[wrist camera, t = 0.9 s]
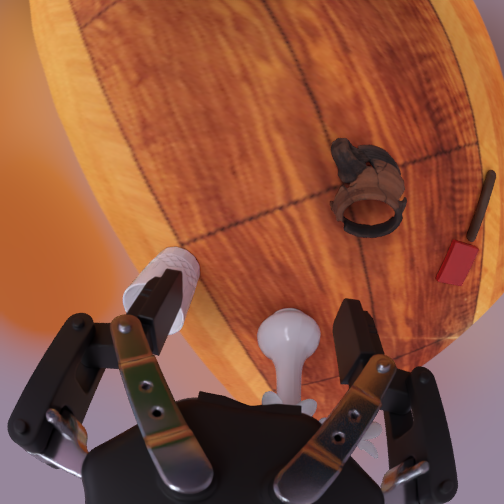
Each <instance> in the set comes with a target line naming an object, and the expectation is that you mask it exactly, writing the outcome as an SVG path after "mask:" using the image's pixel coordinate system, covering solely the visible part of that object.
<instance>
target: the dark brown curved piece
mask: <svg viewBox="0 0 504 504" xmlns="http://www.w3.org/2000/svg"><path fill="white" fill-rule="evenodd" d="M331 153H332V157H333V159H334V161H335V163H336V165H337V167H338V176H339V177H340V179H341V180H342V181H343V182H344V183H350V182H351V184H350V186H349V187H348V188H346V187H345V186H341V187H340V189H339V191H338V193H337V195H336V196H335V200H334V202H333V201H330V206H331V210H332V211H333V212H334V214H335V215H336V220H337V221H342V222H343V223H344V231H346V232H348V233H349V234H352V235H354V236H358V237H363V238H368V237H369V238H376V237H382V236H385V235H387V234H390V233H391V232H393V231H394V230H395V229H396V228H397V227H398V226H399V225H400V223H401V221H402V219H403V217H402V213H403V211H404V209H405V206H406V203H407V199H406V197H404V199H403V200H402V201H399V198H400V197H401V195H402V194H403V192H404V190H405V187H404V180H403V179H402V177H401V176H400V175H401V173H400V169H399V167H398V165H397V163H396V162H395V161H394V159H393V158H392V157H391V156H390V155H389V154H388V152H386V151H385V150H383V149H382V148H380V147H377V146H373V145H360V146H358V148H355V147H354V146H352V144H351V143H350V142H349V140H348V139H347V138H338V139H336V140H335V141H333V142H332V146H331ZM368 161H369V162H370V164H371V165H372V166H373V168H372V167H370V166H366V163H367V162H368ZM367 199H372V200H379V201H382V202H385V203H387V204H388V205H390V206H391V207H392V208H393V209H394V211H395V216H394V217H391V218H390V219H389V220H388V221H386V222H384V223H381V224H376V225H372V226H370V225H366V224H357V223H354V222H352V221H350V220H348V219H347V218H345V217H344V216H343V213H344V211H345V209H346V208H347V207H348V206H349V205H351V204H352V203H354V202H355V201H360V200H367Z"/></svg>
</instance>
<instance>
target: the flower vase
mask: <svg viewBox="0 0 504 504" xmlns="http://www.w3.org/2000/svg"><path fill="white" fill-rule="evenodd" d="M320 335H321V333H320V329H319V326H318V324H317V323H316V322H315V320H314V319H312V318H311V317H310V316H308V315H307V314H305V313H303V312H302V311H300V310H298V309H294V308H284V309H280V310H278V311H276V312H275V313H274V314H273V315H271V316H269V317H268V318H267V319H265V320H264V321H263V322H262V324H261V325H260V327H259V329H258V333H257V340H258V345H259V347H260V349H261V351H262V352H263V353H264V354H265V355H266V356H267V357H268V358H269V359H271V360H272V361H273V363H274V365H275V369H276V376H277V394H275V393H274V392H272V391H268V392H265V394H264V395H263V397H262V405H268V404H287V405H300V406H302V413H305V414H307V415H309V416H311V417H312V416H313V414H314V413H315V410H316V408H317V403H316V401H315V400H313V399H307V400H303V401H301V374H302V368H303V364H304V362H305V360H306V359H307V358H309V357H310V356H311V355H312V354H313V353H314V352H315V351H316V349H317V347H318V345H319V342H320ZM325 419H326V418H321V419H320V421H319V422H320V423H323V422H324V421H325ZM381 432H382V427H381V425H380V424H379V423H377V422H372V423H371V425H370V427H369V428H368V430H367V431H366V433H365V435H364V436H363V438H362V439H361V441H360V442H359V444H358V445H357V446H358V448H359V449H360V450H362V449H364V450H365V451H366V452H367V453H369V454H370V455H371V456H373V457H374V458H378V454H377V450H376V448H375V447H374V445H373V444H372V443H371V442H369V441H365V440H368V439H372V438H376V437H378V436H379V435H380V434H381Z"/></svg>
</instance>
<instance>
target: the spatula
mask: <svg viewBox="0 0 504 504" xmlns="http://www.w3.org/2000/svg"><path fill="white" fill-rule="evenodd" d="M495 179H496V173H495V172H494V171H493V170H489V171H488V172H487V176H486V179H485V183H484V186H483V190H482V193H481V197H480V200H479V203H478V206H477V209H476V212H475V215H474V217H473V220H472V223H471V226H470V228H469V231H468V233H467V239H468V241H470V242H473V241H474V240H475V239H476V236H477V234H478V231H479V228H480V226H481V223H482V220H483V218H484V215H485V212H486V209H487V206H488V203H489V200H490V196H491V193H492V190H493V186H494V183H495ZM478 251H479V249H478V248H477V247H476V246H473V245H470V244H467V243H463V242H460V241H457V240H454V239H453V241H452V243H451V245H450V248H449V250H448V252H447V255H446V257H445V259H444V261H443V264H442V266H441V268H440V270H439V272H438V274H437V276H436V280H437V281H438V282H442V283H447V284H453V285H458V286H462V284H463V282H464V280H465V278H466V276H467V274H468V272H469V270H470V268H471V266H472V264H473V262H474V260H475V258H476V255H477V253H478Z"/></svg>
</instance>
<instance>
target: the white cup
mask: <svg viewBox="0 0 504 504" xmlns="http://www.w3.org/2000/svg"><path fill="white" fill-rule="evenodd" d="M167 268H168V269H173V270H179V271H182V276H183V299H182V304H181V308H180V310H179V312H178V314H177V316H176V319H175V321H174V323H173V325H172V327H171V330H170V332H169V334H168V335H171V334H175V333H176V332H178V331H179V330H180V329H181V328H182V326H183V324H184V321H185V318H186V315H187V312H188V309H189V307H190V304H191V301H192V298H193V295H194V292H195V289H196V284H197V281H198V279H199V276H200V266H199V264H198V262H197V260H196V258H195V257H194V256H193V255H192V254H191V253H190V252H188V251H187V250H185V249H182V248H179V247H168V248H166V249H164V250H163V251H161V252H160V253H159V254H158V255H157V256H156V257H155V258H154V259H153V260H152V261H151V262H150V263H149V264H148V265H147V266H146V267H145V268H144V269H143V270H142V272H141V273H140V274H139V275H138V276H137V277H136V279H135V280H134V281H133V282H132V283H131V284H130V286H129V287H128V288H127V289H126V290H125V292H124V295H123V305H124V308H125V310H126V313H127V312H128V310H129V309H130V307H131V306H132V304H133V302H134V301H135V299H136V298H137V296H138V295H139V293H140V292H141V290H143V287H144V286H145V284H146V283H147V282H148V281H149V280H150V279H152V278H154V277H155V276H157V277H161V276H162V275H163V273H164V272H165V270H166V269H167Z"/></svg>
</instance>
